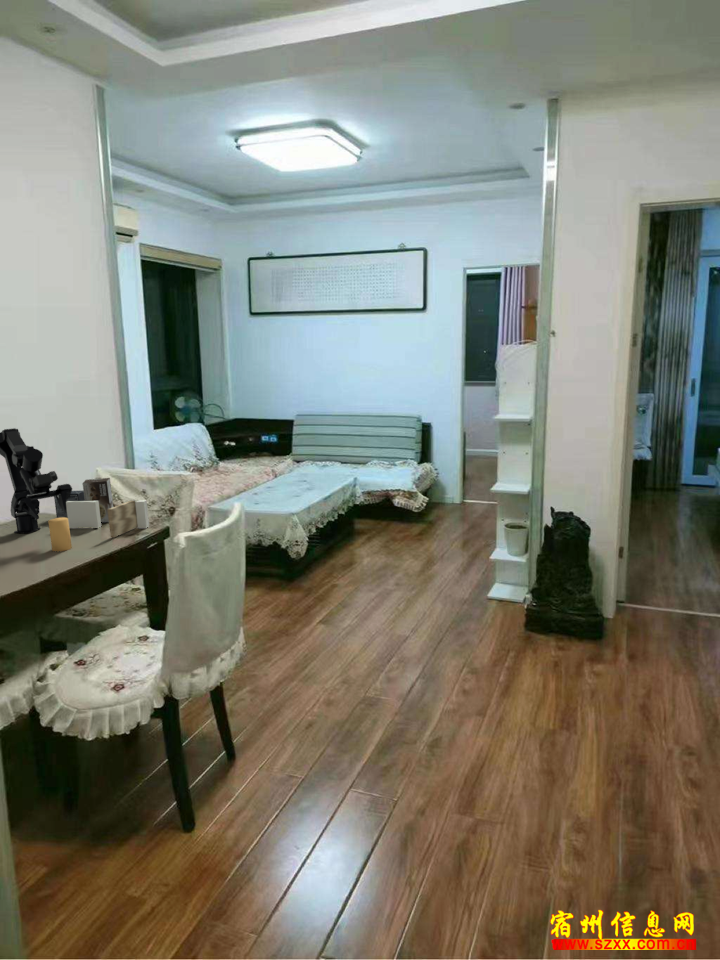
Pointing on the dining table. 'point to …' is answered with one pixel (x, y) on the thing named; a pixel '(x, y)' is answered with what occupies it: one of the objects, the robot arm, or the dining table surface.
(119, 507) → the door
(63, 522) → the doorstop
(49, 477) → the robot arm
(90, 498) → the coffee box
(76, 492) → the small box
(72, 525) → the wall frame
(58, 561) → the dining table surface
